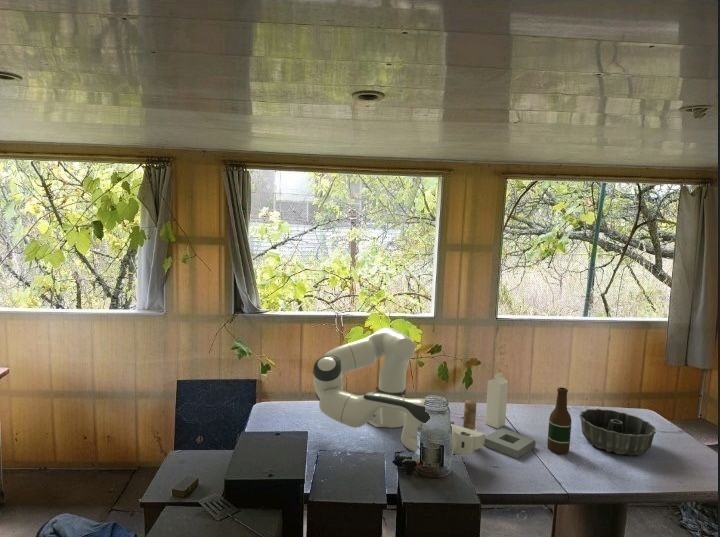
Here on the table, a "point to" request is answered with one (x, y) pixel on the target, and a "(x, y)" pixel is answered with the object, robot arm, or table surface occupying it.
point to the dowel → (469, 414)
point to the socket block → (509, 442)
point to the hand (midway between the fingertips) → (464, 426)
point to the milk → (496, 401)
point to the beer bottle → (559, 425)
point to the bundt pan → (617, 431)
